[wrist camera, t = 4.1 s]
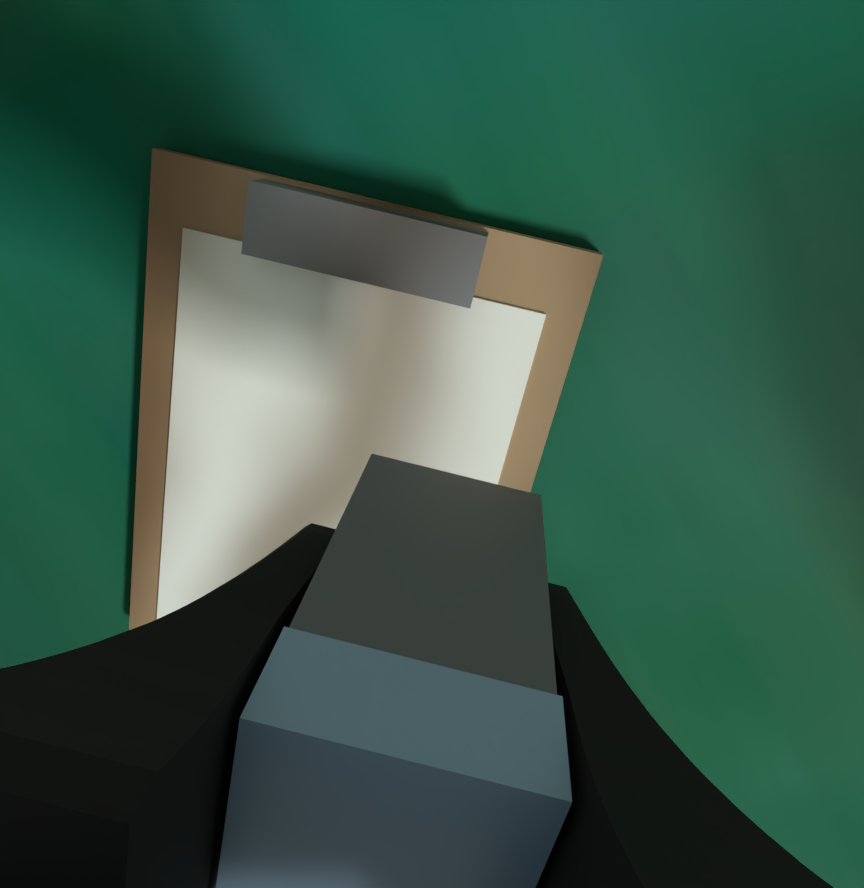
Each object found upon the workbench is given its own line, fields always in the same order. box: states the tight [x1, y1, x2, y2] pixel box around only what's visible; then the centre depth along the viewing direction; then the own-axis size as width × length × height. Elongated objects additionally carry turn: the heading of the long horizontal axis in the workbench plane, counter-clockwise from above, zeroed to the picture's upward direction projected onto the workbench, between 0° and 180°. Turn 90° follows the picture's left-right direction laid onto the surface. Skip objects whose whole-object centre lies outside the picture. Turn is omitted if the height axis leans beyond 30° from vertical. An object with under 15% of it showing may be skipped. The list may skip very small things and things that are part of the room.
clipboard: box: [129, 148, 603, 630], centre depth 21 cm, size 12×16×2 cm
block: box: [216, 454, 572, 888], centre depth 11 cm, size 4×4×7 cm
